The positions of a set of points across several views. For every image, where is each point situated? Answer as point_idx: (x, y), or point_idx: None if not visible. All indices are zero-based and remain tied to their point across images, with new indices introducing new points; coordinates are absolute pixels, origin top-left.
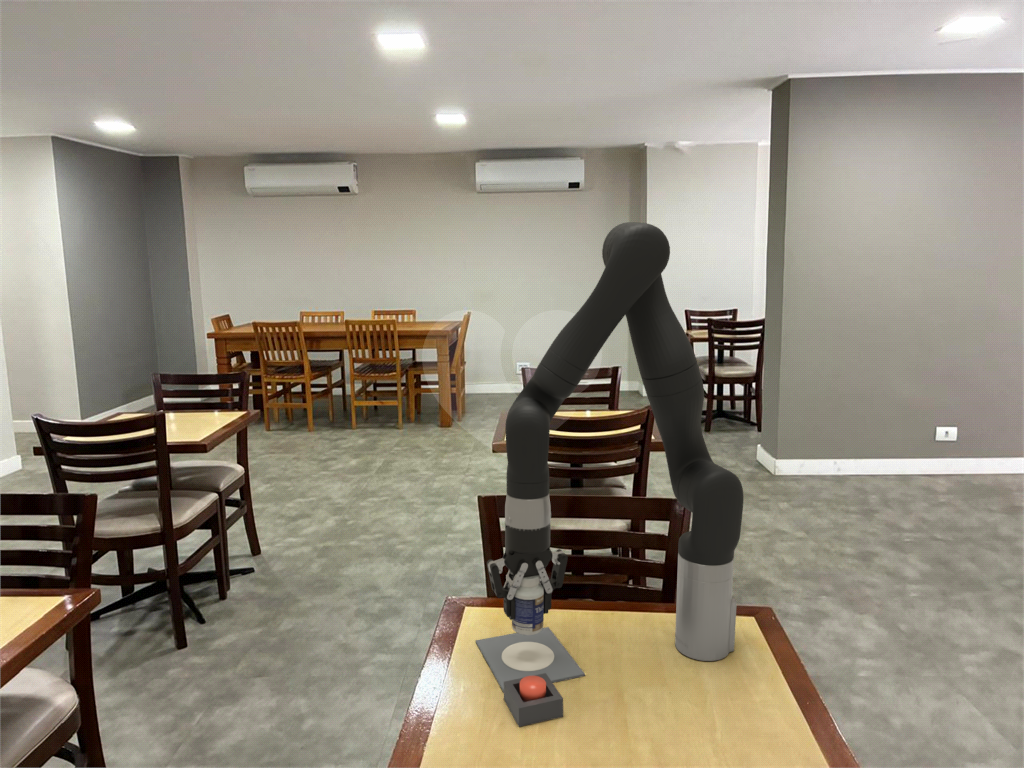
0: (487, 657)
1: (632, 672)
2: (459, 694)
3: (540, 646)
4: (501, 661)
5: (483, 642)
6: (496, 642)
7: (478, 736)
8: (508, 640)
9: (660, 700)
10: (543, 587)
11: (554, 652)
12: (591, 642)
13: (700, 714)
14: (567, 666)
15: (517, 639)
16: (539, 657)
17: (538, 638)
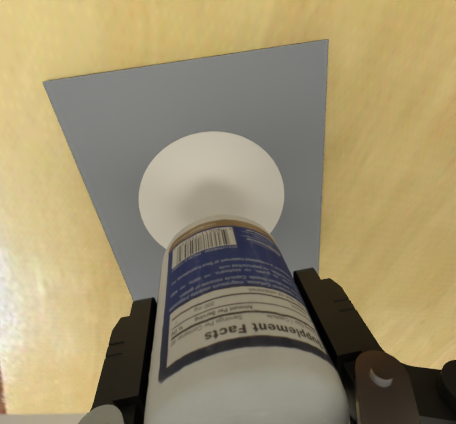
0: (95, 194)
1: (407, 272)
2: (38, 303)
3: (260, 165)
4: (137, 216)
5: (75, 104)
6: (124, 112)
7: (92, 384)
8: (167, 108)
9: (395, 334)
10: (354, 406)
11: (287, 197)
12: (404, 152)
13: (422, 358)
14: (294, 253)
15: (199, 108)
16: (241, 216)
17: (268, 115)
